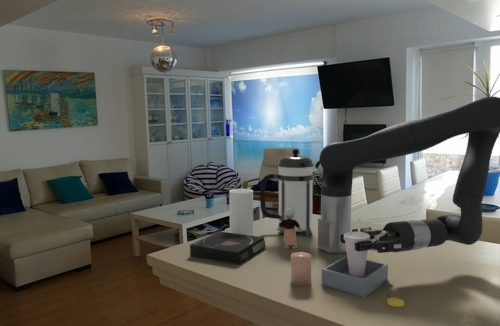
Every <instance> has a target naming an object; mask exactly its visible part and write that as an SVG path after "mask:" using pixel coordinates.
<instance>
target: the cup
mask: <svg viewBox="0 0 500 326" xmlns="http://www.w3.org/2000/svg"><path fill="white" fill-rule="evenodd" d="M228 195H229V196H228V199H229V204H228V205H229V233H235V234H242V235H250V236H254V190H253V189H250V188H233V189H230V190H229V193H228Z"/></svg>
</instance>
